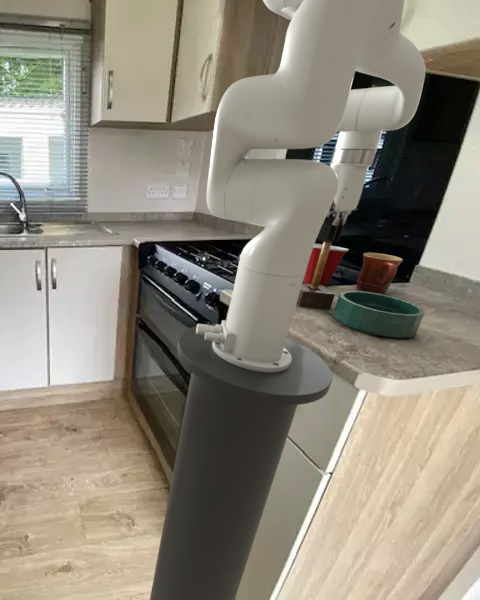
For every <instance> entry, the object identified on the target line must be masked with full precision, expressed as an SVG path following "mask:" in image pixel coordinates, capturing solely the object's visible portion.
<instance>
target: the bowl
mask: <svg viewBox="0 0 480 600" xmlns="http://www.w3.org/2000/svg"><path fill="white" fill-rule="evenodd" d="M425 314H426V311H425V310H424V309H423V307H421V306H419V305H417V304H415V303H413V302H410V301H407V300H405V299H402V298H398V297H394V296H391V295H386V294H377V293H371V292H364V291H361V290H347V291H342V292H340V293H339V295H338V299H337V301H336V303H335V307H334V310H333V317H334V318H335V319H337V320H338V321H339V322H341V323H342V324H343V325H345V326H347V327H349V328H351V329H354V330H356V331H360V332H362V333H366V334H370V335H373V336H378V337H382V338H383V337H384V338H390V339H391V338H393V339H402V338H411V337H415V336H416V334H417V333H418V331H419V328H420V326H421V323H422V321H423V319H424V317H425Z"/></svg>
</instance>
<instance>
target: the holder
mask: <svg viewBox="0 0 480 600" xmlns="http://www.w3.org/2000/svg"><path fill="white" fill-rule="evenodd" d="M335 297H336V294H335V293H334V292H332V291H331V290H330V289H329V288H327V286H326V287H324V286H322V285H319V286H318V288H317V289H316V290H313V289H311V284H306V283H302V287H301V290H300V294H299V297H298V301H297V304H296V305H297V306H299V307H302V308H303V307H304V308H313V309H322V310H331V308H332V305H333V301H334V299H335Z"/></svg>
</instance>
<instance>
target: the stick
mask: <svg viewBox="0 0 480 600" xmlns="http://www.w3.org/2000/svg"><path fill="white" fill-rule="evenodd" d="M339 222H340V218H338V221H337V224H336V226H338V225H339ZM337 228H338V227H337ZM336 232H337V230H336ZM335 235H336V234H335ZM334 238H335V237H334ZM322 244H323V246H322V249H321V253H320V256H319V260H318V263H317V266H316V270H315V273H314V277H313V280H312V283H311V289H313V290H316V289H317V288H318V286H319V283H320V279H321V276H322V273H323V269H324V266H325V263H326V260H327V256H328V253H329V250H330V246H332V243H328V242H322Z"/></svg>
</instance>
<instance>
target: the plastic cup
mask: <svg viewBox="0 0 480 600" xmlns="http://www.w3.org/2000/svg"><path fill="white" fill-rule="evenodd" d="M322 246H323V243H322V244H321V243H315V244H314V247H313V250H312V253H311V256H310V259H309V263H308V266H307V269H306V273H305V276H304V280H303V284H311V283H312V280H313V277H314V273H315V270H316V266H317V263H318V260H319V256H320V253H321V249H322ZM347 252H349V248H345V247H341V246H336V245H331V246H330V250H329V253H328V256H327V260H326V263H325V266H324V269H323V273H322V276H321V279H320V283H319V285H322V286H324V287H326V288H327V285H328V284H329V282H330V281H331V278H332V277H333V276H334V274H335V272H336V270H337V268H338V266H339V265H340V263H341V260H342V259H343V258H344V256H345V255H346V254H347Z"/></svg>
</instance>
